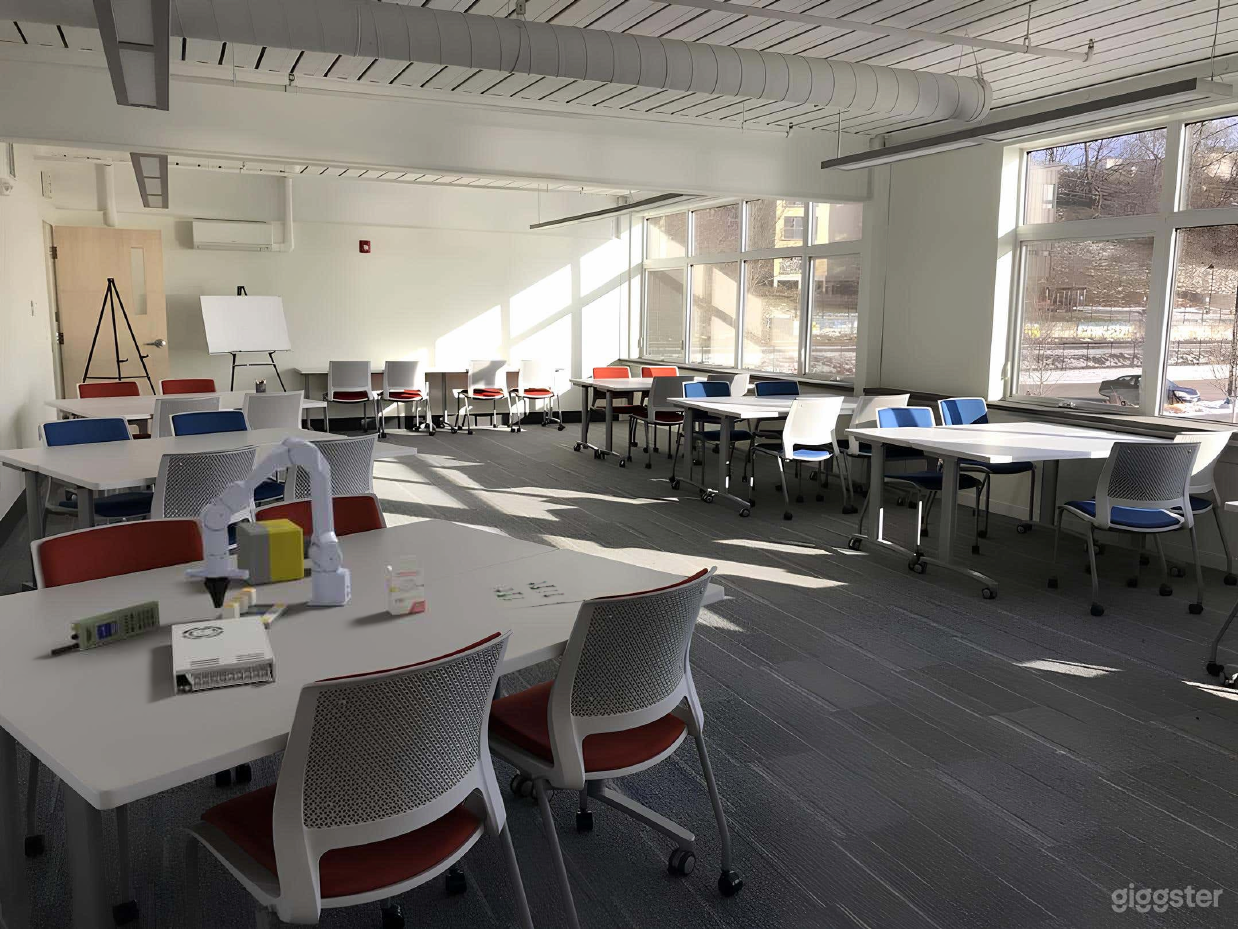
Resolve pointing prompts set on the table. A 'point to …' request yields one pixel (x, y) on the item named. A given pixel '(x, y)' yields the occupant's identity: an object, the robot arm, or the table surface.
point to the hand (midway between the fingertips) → (218, 607)
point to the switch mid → (241, 602)
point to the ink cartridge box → (406, 585)
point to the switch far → (249, 595)
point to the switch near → (230, 610)
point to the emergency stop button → (271, 550)
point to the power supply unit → (222, 652)
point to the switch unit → (264, 612)
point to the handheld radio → (113, 626)
